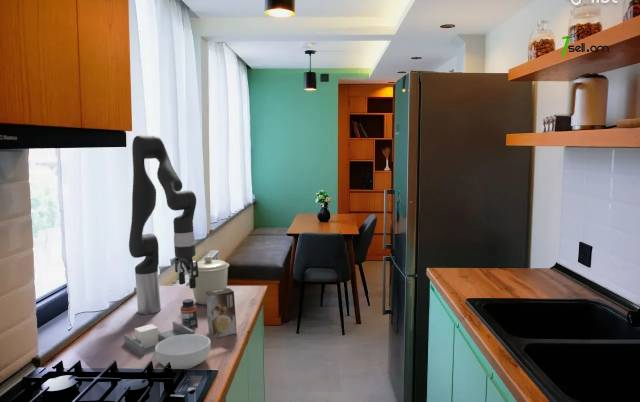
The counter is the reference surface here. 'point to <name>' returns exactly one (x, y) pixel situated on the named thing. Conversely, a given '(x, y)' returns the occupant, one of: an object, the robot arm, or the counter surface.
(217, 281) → the canister
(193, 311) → the supplement bottle
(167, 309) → the counter surface
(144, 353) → the slot rack
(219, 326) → the coffee box
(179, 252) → the robot arm
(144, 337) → the off-white block
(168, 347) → the cereal bowl
